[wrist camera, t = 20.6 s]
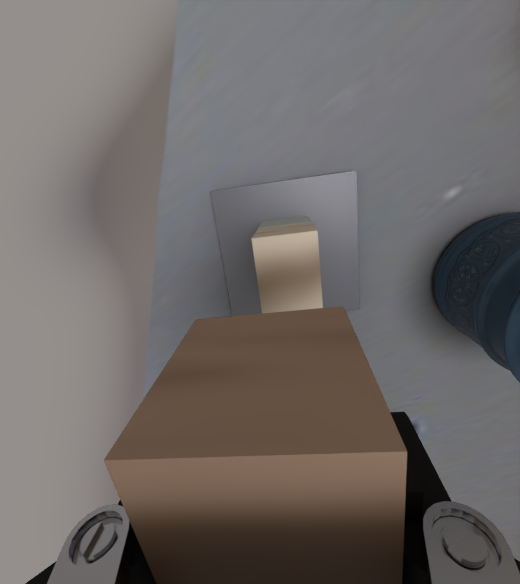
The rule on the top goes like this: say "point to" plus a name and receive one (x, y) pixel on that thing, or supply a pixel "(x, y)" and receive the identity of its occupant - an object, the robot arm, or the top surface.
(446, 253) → the canister
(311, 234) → the maple brick
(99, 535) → the robot arm
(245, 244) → the tower base
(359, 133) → the top surface
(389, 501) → the walnut brick
